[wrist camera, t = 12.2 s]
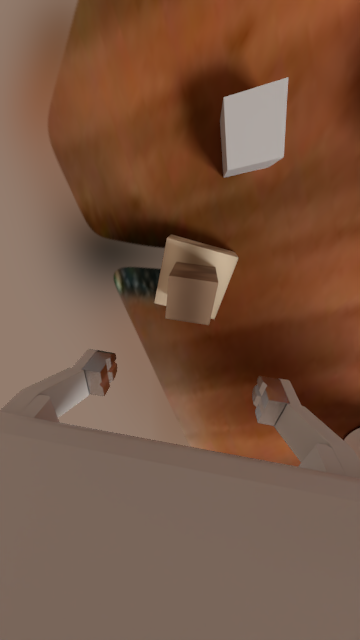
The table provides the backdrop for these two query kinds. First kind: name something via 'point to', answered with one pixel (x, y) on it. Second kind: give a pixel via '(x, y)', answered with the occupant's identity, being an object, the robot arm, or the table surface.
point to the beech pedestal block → (200, 255)
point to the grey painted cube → (253, 128)
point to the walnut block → (191, 293)
